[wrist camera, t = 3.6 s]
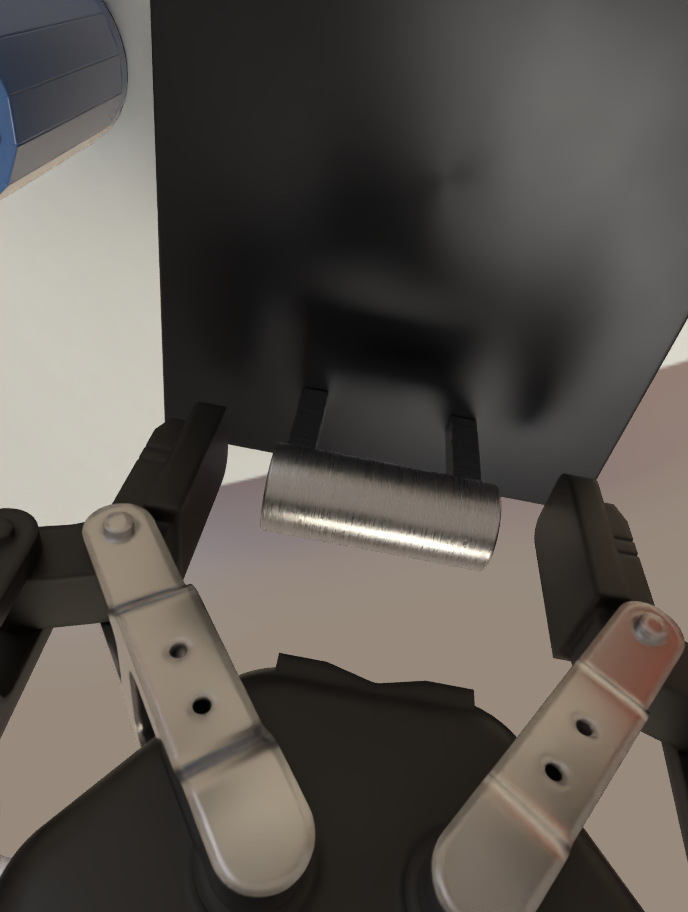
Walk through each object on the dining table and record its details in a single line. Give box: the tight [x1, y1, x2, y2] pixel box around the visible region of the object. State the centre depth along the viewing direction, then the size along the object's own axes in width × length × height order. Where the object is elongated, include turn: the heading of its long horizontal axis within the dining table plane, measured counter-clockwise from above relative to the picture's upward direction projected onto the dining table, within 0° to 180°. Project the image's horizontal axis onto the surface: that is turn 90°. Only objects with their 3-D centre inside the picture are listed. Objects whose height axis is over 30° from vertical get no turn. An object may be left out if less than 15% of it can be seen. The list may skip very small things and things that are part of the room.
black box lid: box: [150, 0, 688, 571], centre depth 12 cm, size 17×12×5 cm
